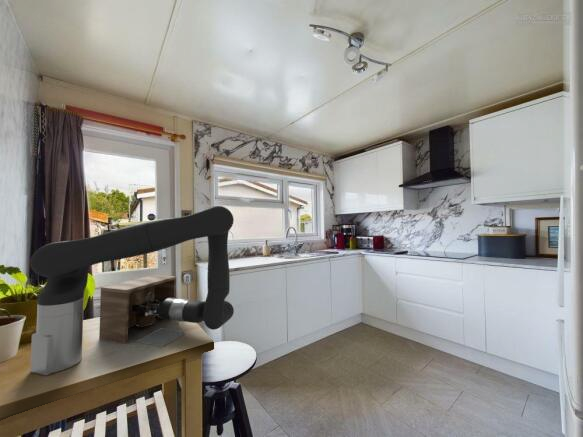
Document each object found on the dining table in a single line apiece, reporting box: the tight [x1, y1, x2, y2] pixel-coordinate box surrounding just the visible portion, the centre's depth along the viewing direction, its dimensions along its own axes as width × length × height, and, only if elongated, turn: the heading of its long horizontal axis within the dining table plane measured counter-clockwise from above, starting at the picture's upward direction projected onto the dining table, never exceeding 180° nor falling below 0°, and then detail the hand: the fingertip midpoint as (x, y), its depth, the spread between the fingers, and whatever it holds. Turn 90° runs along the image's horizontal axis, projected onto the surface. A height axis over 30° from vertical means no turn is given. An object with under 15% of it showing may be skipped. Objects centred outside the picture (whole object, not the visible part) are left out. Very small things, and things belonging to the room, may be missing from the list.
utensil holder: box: [135, 292, 156, 328], centre depth 90 cm, size 6×6×12 cm
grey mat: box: [137, 327, 186, 347], centre depth 82 cm, size 10×10×1 cm
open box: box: [98, 274, 177, 345], centre depth 90 cm, size 22×11×17 cm, turn 164°
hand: (140, 305), depth 91 cm, fingers closed on utensil holder, 5 cm apart
